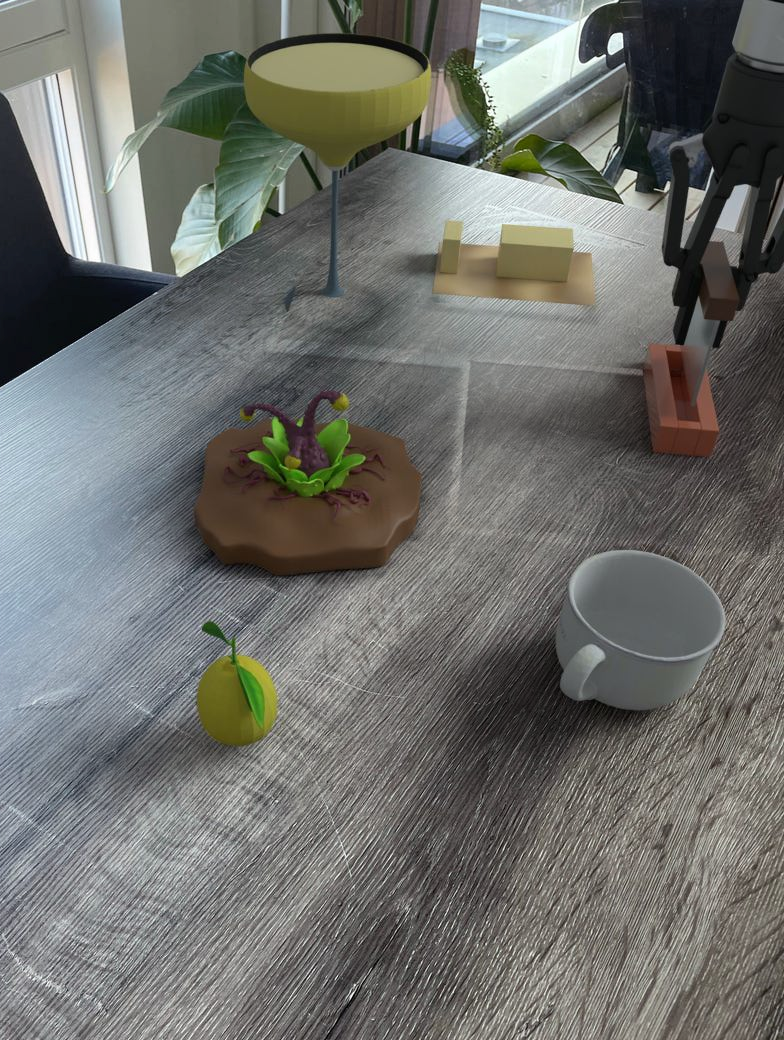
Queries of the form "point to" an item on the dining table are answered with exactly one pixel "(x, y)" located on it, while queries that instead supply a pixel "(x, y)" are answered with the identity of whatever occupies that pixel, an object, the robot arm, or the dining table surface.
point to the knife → (708, 314)
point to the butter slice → (451, 246)
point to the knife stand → (677, 405)
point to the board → (513, 279)
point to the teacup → (635, 630)
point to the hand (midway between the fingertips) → (695, 338)
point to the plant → (306, 493)
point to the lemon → (235, 697)
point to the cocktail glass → (336, 100)
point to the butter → (535, 252)
